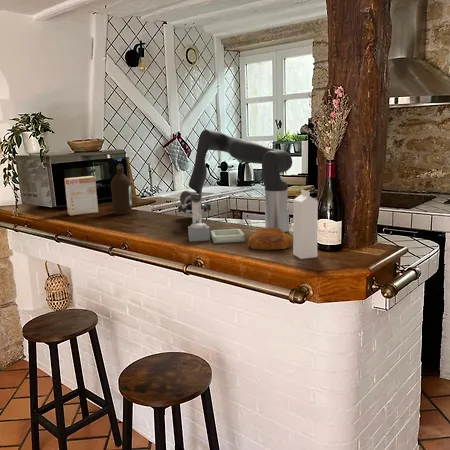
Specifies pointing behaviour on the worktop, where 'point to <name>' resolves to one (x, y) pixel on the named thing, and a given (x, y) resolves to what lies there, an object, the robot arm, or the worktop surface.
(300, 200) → the milk
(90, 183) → the coffeecake box
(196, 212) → the lock pin
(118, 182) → the olive oil
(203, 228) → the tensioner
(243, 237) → the tray
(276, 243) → the bread loaf
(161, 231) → the worktop surface
